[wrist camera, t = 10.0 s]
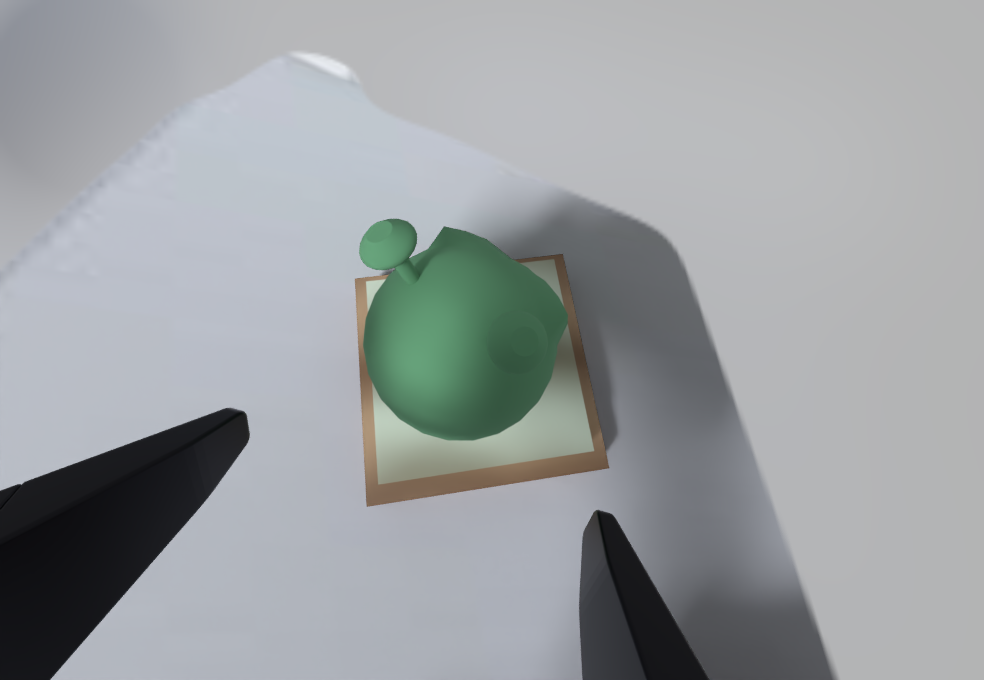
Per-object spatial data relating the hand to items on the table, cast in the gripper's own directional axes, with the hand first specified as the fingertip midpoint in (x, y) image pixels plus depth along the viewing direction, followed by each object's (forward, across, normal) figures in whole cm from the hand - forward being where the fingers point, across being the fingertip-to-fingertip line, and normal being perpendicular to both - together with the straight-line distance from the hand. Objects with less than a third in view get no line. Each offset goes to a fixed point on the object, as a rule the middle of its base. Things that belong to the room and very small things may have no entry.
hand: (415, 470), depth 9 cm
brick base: (+12, 0, +5) cm, 13 cm away
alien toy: (+9, 0, +2) cm, 10 cm away
